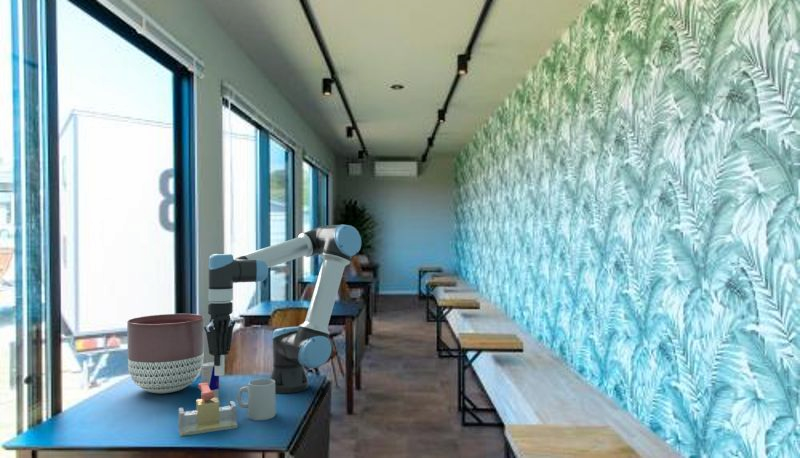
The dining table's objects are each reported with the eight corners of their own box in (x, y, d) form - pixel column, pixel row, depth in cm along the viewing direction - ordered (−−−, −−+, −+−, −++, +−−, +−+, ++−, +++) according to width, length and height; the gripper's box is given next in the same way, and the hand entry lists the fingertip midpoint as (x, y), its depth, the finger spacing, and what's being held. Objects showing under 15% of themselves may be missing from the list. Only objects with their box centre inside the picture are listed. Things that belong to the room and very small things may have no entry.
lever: (214, 400, 165) (214, 392, 165) (202, 402, 164) (202, 394, 164) (208, 389, 178) (208, 381, 178) (197, 390, 176) (197, 383, 176)
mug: (278, 411, 180) (278, 378, 181) (271, 420, 172) (272, 385, 172) (241, 412, 181) (241, 378, 181) (233, 420, 172) (233, 385, 172)
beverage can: (213, 411, 181) (213, 365, 181) (197, 410, 182) (198, 365, 182) (222, 406, 187) (222, 362, 187) (207, 405, 188) (207, 361, 188)
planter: (219, 387, 210) (219, 316, 211) (155, 405, 188) (155, 326, 188) (175, 378, 225) (175, 312, 225) (111, 393, 202) (112, 320, 202)
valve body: (232, 418, 174) (232, 393, 174) (237, 427, 165) (237, 401, 166) (178, 426, 167) (178, 400, 167) (180, 436, 158) (180, 408, 159)
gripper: (223, 299, 185) (222, 369, 184) (197, 303, 172) (196, 378, 172) (242, 300, 182) (241, 371, 182) (217, 304, 170) (216, 381, 169)
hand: (219, 375), depth 177 cm, fingers closed
